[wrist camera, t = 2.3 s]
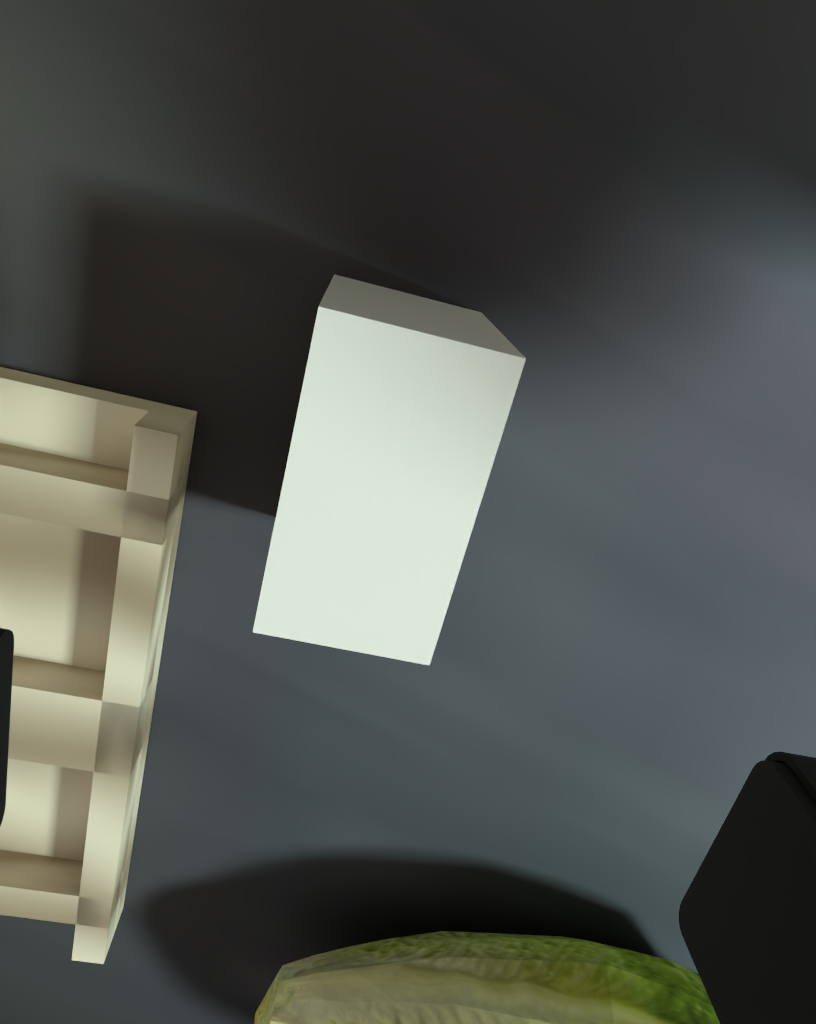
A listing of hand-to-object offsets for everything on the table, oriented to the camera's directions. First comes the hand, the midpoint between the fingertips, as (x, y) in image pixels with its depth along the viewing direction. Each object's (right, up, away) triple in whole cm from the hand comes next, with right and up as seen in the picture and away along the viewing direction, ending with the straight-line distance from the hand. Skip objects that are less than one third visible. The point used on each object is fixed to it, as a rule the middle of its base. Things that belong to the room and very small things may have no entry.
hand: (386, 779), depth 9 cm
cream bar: (-1, +6, +14) cm, 16 cm away
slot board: (-15, -2, +17) cm, 23 cm away
